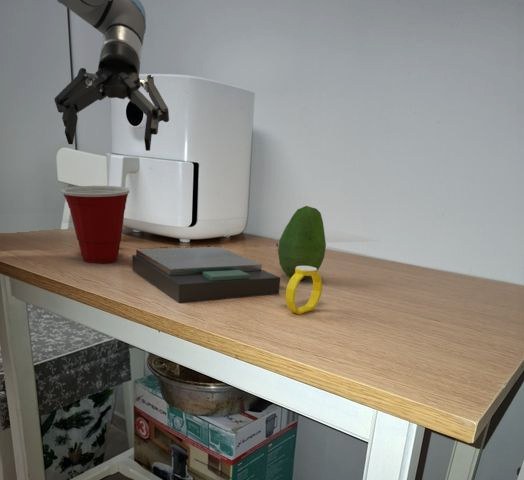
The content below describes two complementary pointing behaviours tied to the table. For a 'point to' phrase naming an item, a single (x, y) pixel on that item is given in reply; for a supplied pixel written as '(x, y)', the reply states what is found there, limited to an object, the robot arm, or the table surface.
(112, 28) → the robot arm
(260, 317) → the table surface
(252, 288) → the scale
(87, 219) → the plastic cup
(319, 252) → the avocado
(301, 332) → the table surface
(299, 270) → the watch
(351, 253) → the table surface
